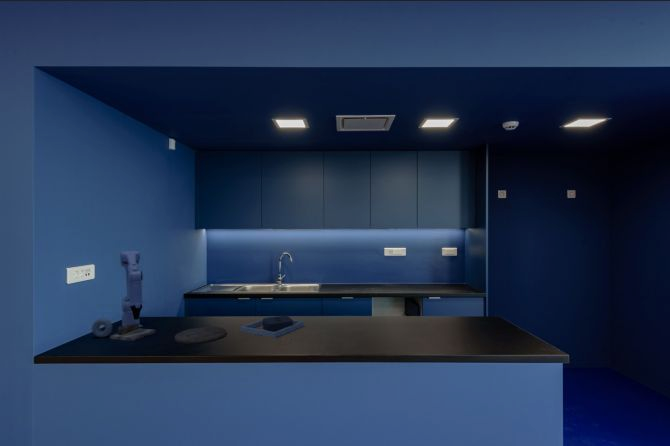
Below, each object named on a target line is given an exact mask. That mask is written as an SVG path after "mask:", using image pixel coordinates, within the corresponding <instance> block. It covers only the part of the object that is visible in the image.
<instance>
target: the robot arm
mask: <svg viewBox="0 0 670 446" xmlns="http://www.w3.org/2000/svg"><path fill="white" fill-rule="evenodd" d="M119 260H120V265H121V266H120V267H123V268H124V270H125V283H126V295H125V296H124V297H123V298H122V300H121V310H122V316H121V326H125V325H128V324H133V323H139V328H142V327H144V325H142V324H141V323H140V315H141V314H140V313H141V311H142V309H143V303H145V300H143V283H142V282H143V280H144V279H143V278H144V274H143V271H142V269H141V268H140V265H139V263H140V260H141V252H140V250H121V251H120V253H119Z"/></svg>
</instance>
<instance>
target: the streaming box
mask: <svg viewBox="0 0 670 446" xmlns="http://www.w3.org/2000/svg"><path fill="white" fill-rule="evenodd" d="M262 320H263V325H262V330H265V331H271V332H276V331H279V330H281V329H284V328H287V327H289V326H292V325H293V320H294V319H293V318H291V317H290V316H289V315H280V316H270V317H264V318H262Z"/></svg>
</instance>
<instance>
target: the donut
mask: <svg viewBox="0 0 670 446" xmlns="http://www.w3.org/2000/svg"><path fill="white" fill-rule="evenodd" d="M101 326H104V330H101V329H100V327H101ZM91 330H92V333H93V335H95V336H96V337H98V338H106V337H108V336H110V334H112V331H113V324H112V321H111V320H110V319H108V318H105V317H101V318H97V319H96V320H95V321H94V322H93V323H92V326H91Z"/></svg>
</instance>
